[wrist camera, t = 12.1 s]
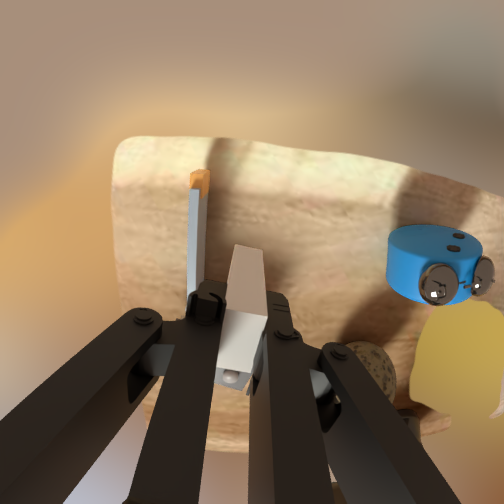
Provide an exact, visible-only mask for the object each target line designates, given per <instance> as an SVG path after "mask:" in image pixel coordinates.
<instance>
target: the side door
mask: <svg viewBox="0 0 504 504" xmlns="http://www.w3.org/2000/svg"><path fill="white" fill-rule="evenodd" d="M209 181H210V170H203V169H198V170H196V171H194V172H192V173H190V189H189V211H188V243H187V300H188V295H189V294H190V293H191V292H193V291H196V290H198V287H199V284H200V283H201V282H203V281H204V269H205V243H206V222H207V204H208V192H209ZM186 307H187V305H186ZM185 311H186V308H185Z"/></svg>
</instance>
